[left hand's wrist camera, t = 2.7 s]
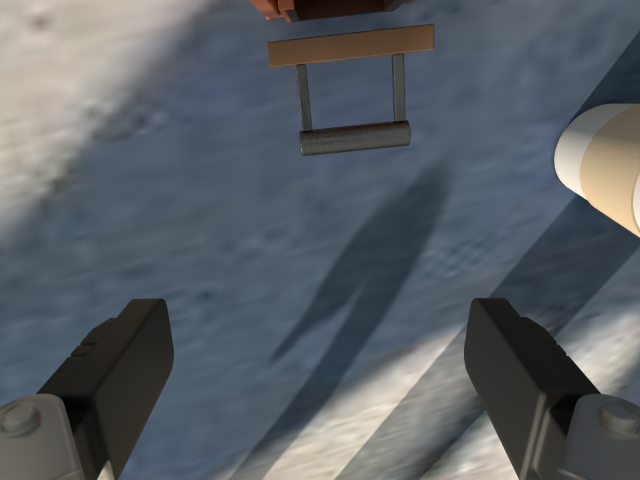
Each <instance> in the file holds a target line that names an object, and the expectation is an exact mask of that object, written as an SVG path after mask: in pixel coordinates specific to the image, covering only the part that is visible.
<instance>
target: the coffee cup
mask: <svg viewBox="0 0 640 480" xmlns="http://www.w3.org/2000/svg"><path fill="white" fill-rule="evenodd" d="M554 161H555V169H556V172H557V175H558V177H559V179H560V180H561V181H562V183H563V184H564V185H565V186H567V187H568V188H570V189H571V190H573V191H574V192H576V193H577V194H579V195H580V196H582V197H583V198H585V199H587V200H588V201H589V203H590V204H591V205H592V206H594V207H595V208H596V209H598V210H599V211H601V212H602V213H604V214H605V215H607V216H608V217H610V218H611V219H613V220H614V221H616V222H617V223H619V224H620V225H622V226H623V227H625V228H626V229H628V230H629V231H631V232H632V233H634V234H635V235H637V236H638V237H640V104H604V105H600V106H597V107H594V108H592V109H589V110H587V111H586V112H584V113H582V114H581V115H580V116H578V117H577V118H576V119H575V120H574V121H573V122H572V123H571V124H570V125H569V126H568V127H567V128H566V130H565V131H564V132H563V134H562V136H561V137H560V139H559V142H558V144H557V147H556V151H555V160H554Z"/></svg>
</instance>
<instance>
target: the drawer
mask: <svg viewBox="0 0 640 480" xmlns="http://www.w3.org/2000/svg"><path fill="white" fill-rule="evenodd" d="M406 1H407V0H278V5H279V10H280V12H281V13H282V14H283V16H284V17H285V19H286V20H287V22H288V23H290V22H299V21H308V20H317V19H326V18H335V17H344V16H353V15H362V14H371V13H380V12H389V11H394V10H395V9H397V8H398V7H399V6H401V5H402V4H403V3H405V2H406ZM267 48H268V55H269V63H270V67H285V66H294V65H295V71H296V79H297V88H298V97H299V106H300V115H301V123H302V131H300V132H299V137H300V147H301V154H302V156H310V155H320V154H330V153H339V152H349V151H359V150H369V149H379V148H389V147H399V146H408V145H409V144H410V125H409V122H408V120H405V84H404V54H405V53H412V52H419V51H426V50H432V49H434V24H427V25H418V26H409V27H400V28H391V29H382V30H373V31H364V32H355V33H346V34H337V35H328V36H319V37H310V38H301V39H292V40H283V41H274V42H267ZM386 55H392V76H393V105H394V121H392V122H382V123H373V124H363V125H353V126H344V127H334V128H324V129H315V130H312V121H311V111H310V102H309V92H308V83H307V73H306V65H305V64H313V63H322V62H331V61H340V60H350V59H359V58H368V57H377V56H386Z"/></svg>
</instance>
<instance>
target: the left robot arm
mask: <svg viewBox="0 0 640 480" xmlns="http://www.w3.org/2000/svg"><path fill="white" fill-rule="evenodd" d="M173 359H174V349H173V342H172V336H171V329H170V323H169V316H168V309H167V305H166V302H165V301H164V300H163V299H132V300H131V301H130V302H129V303H128V305H127V306H126V307H125V308H124V309H123V311H122V312H121V313H120V314H119V316H118V317H117V318H110V319H108V320H106V321H105V322H103V323H102V324H100V325H99V326H97V327H95V328H94V329H92V330H91V332H90V333H89V334H88V335H87V336H86V337H85V338H84V340H83V341H82V342H81V345H80V346H77V348H76V349H75V350H74V351H73V352H72V353H71V357H68V358H67V359H66V360H65V361H64V362H63V364H62V365H61V366H60V367H59V368H58V369H57V370H56V372H55V373H54V374H53V375H52V376H51V377H50V379H49V380H48V381H47V382H46V383H45V384H44V385H43V387H42V388H41V389H40V390H39V391H38V392H37V393H36V394H35V395H30V396H25V397H22V398H19V399H16V400H14V401H12V402H9V403H7V404H5V405H3V406H2V407H0V480H118V479H119V477H120V475H121V473H122V471H123V469H124V467H125V465H126V463H127V461H128V459H129V457H130V455H131V453H132V451H133V449H134V446H135V444H136V442H137V440H138V438H139V436H140V434H141V432H142V430H143V428H144V426H145V424H146V422H147V420H148V418H149V416H150V414H151V412H152V410H153V408H154V406H155V404H156V402H157V400H158V398H159V396H160V394H161V391H162V389H163V387H164V385H165V383H166V381H167V379H168V377H169V375H170V373H171V370H172V366H173ZM464 360H465V366H466V370H467V373H468V375H469V377H470V379H471V381H472V383H473V385H474V387H475V389H476V391H477V393H478V395H479V398H480V400H481V402H482V404H483V406H484V408H485V410H486V412H487V414H488V416H489V418H490V420H491V422H492V424H493V426H494V428H495V431H496V433H497V435H498V437H499V439H500V441H501V443H502V445H503V447H504V449H505V451H506V453H507V455H508V457H509V459H510V461H511V464H512V466H513V468H514V470H515V472H516V474H517V476H518V478H519V480H640V407H638V406H637V405H635V404H633V403H631V402H628V401H626V400H624V399H621V398H618V397H615V396H610V395H605V394H601V393H600V392H599V391H598V389H597V388H596V387H595V386H594V385H593V384H592V382H591V381H590V380H589V379H588V378H587V377H586V376H585V374H584V373H583V372H582V371H581V370H580V369H579V367H578V366H577V365H576V364H575V363H574V362H573V361H572V359H571V358H570V357H569V356H566V352H565V351H564V350H563V349H562V348H561V347H560V345H557V344H556V341H555V340H554V339H553V337H552V336H551V335H550V334H549V333H548V332H547V330H546V329H545V328H543V327H542V326H540V325H538V324H537V323H535V322H534V321H532V320H531V319H529V318H527V317H520V316H519V314H518V313H517V312H516V311H515V310H514V308H513V307H512V306H511V305H510V303H509V302H508V301H507V300H506V299H505V298H475V299H473V301H472V303H471V307H470V313H469V320H468V327H467V333H466V340H465V347H464Z"/></svg>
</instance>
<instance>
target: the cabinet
mask: <svg viewBox="0 0 640 480" xmlns="http://www.w3.org/2000/svg"><path fill="white" fill-rule="evenodd" d="M249 1H250V2H251V3H252V4H253V5H254V6H255V7H256V8H257V9H258V10H259V11H260V12H261V13H263V14H264V15H265V16H266V18H267V19H273V18H282V17H284V16H283V14H282V13H281V12H280V10H279V5H278V0H249ZM414 1H415V0H407V1H406V2H405V3H403V4H406V3H413V2H414Z"/></svg>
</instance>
